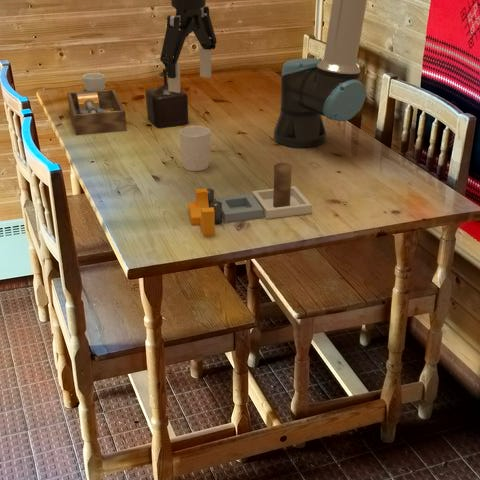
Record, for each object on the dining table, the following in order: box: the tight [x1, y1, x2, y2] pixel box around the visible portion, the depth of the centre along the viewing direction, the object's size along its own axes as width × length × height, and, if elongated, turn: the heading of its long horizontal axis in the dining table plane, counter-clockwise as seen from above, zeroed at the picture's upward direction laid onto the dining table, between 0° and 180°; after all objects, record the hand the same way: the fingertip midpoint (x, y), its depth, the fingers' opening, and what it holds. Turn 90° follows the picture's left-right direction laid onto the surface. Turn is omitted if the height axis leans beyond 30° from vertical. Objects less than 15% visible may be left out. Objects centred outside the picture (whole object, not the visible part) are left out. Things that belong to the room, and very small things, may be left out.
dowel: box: [273, 162, 293, 208], centre depth 169 cm, size 4×4×10 cm
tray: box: [251, 185, 313, 220], centre depth 171 cm, size 11×11×3 cm
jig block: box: [214, 193, 264, 224], centre depth 168 cm, size 9×9×2 cm
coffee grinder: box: [145, 62, 190, 129], centre depth 223 cm, size 16×11×18 cm
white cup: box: [179, 125, 211, 172], centre depth 191 cm, size 8×8×10 cm
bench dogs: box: [207, 188, 223, 225], centre depth 166 cm, size 3×10×5 cm, turn 16°
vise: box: [76, 92, 111, 114], centre depth 224 cm, size 18×10×7 cm, turn 18°
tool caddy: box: [66, 88, 128, 136], centre depth 224 cm, size 15×23×6 cm, turn 17°
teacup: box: [82, 72, 106, 91], centre depth 252 cm, size 10×8×5 cm
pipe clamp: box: [187, 188, 216, 237], centre depth 162 cm, size 12×4×6 cm, turn 11°
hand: (190, 84), depth 168 cm, fingers open, 13 cm apart
